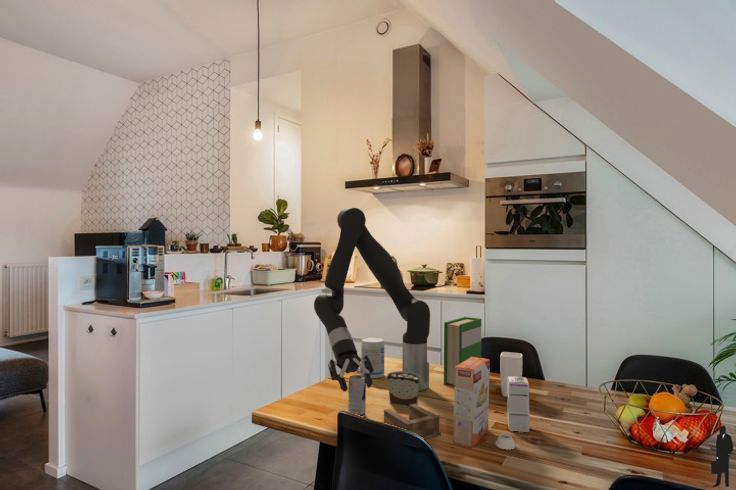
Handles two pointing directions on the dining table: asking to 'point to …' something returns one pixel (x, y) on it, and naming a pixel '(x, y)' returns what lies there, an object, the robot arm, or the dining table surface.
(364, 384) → the energy drink
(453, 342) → the hardback book
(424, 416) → the walnut cradle
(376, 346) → the supplement tub
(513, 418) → the syrup box
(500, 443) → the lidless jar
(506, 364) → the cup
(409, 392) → the food container
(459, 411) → the cracker box
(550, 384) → the dining table surface
